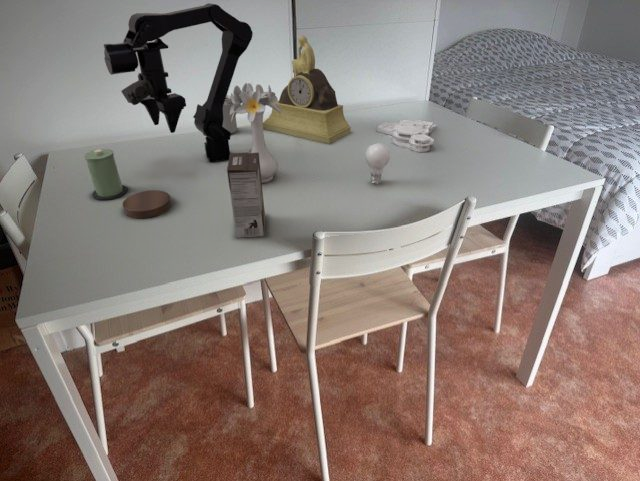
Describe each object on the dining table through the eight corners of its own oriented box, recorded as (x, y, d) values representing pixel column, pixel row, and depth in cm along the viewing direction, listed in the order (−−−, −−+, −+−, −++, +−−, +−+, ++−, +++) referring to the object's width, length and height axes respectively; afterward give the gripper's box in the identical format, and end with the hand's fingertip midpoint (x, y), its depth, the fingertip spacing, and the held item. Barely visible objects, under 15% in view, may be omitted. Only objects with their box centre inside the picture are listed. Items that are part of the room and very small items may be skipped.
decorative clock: (262, 128, 158) (255, 35, 142) (285, 118, 167) (280, 30, 151) (329, 144, 145) (329, 43, 128) (350, 132, 154) (352, 37, 137)
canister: (128, 186, 120) (117, 146, 114) (116, 197, 114) (104, 156, 108) (104, 185, 120) (92, 145, 114) (91, 196, 115) (77, 155, 109)
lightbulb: (372, 190, 116) (374, 150, 110) (359, 181, 121) (360, 142, 115) (392, 185, 119) (395, 145, 113) (379, 176, 123) (381, 138, 117)
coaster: (127, 183, 122) (127, 182, 122) (127, 197, 115) (127, 195, 115) (93, 188, 120) (93, 187, 119) (91, 202, 113) (91, 201, 113)
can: (232, 136, 152) (228, 100, 146) (212, 135, 153) (206, 99, 147) (240, 129, 158) (236, 94, 152) (220, 127, 160) (215, 93, 153)
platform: (169, 194, 116) (168, 187, 115) (173, 213, 108) (171, 206, 106) (124, 201, 113) (122, 194, 112) (124, 222, 104) (122, 214, 103)
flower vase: (269, 161, 133) (262, 73, 120) (294, 185, 119) (290, 89, 106) (227, 170, 128) (214, 79, 115) (248, 196, 115) (236, 96, 101)
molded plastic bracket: (454, 130, 154) (456, 117, 151) (427, 154, 136) (428, 140, 134) (392, 120, 164) (393, 107, 162) (360, 141, 146) (360, 127, 144)
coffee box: (238, 217, 105) (229, 152, 97) (265, 216, 106) (259, 151, 97) (235, 238, 98) (225, 169, 89) (264, 236, 98) (258, 168, 89)
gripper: (106, 68, 116) (121, 127, 124) (138, 80, 104) (152, 144, 113) (146, 61, 122) (158, 118, 131) (181, 72, 111) (192, 133, 119)
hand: (164, 128), depth 123 cm, fingers open, 9 cm apart
